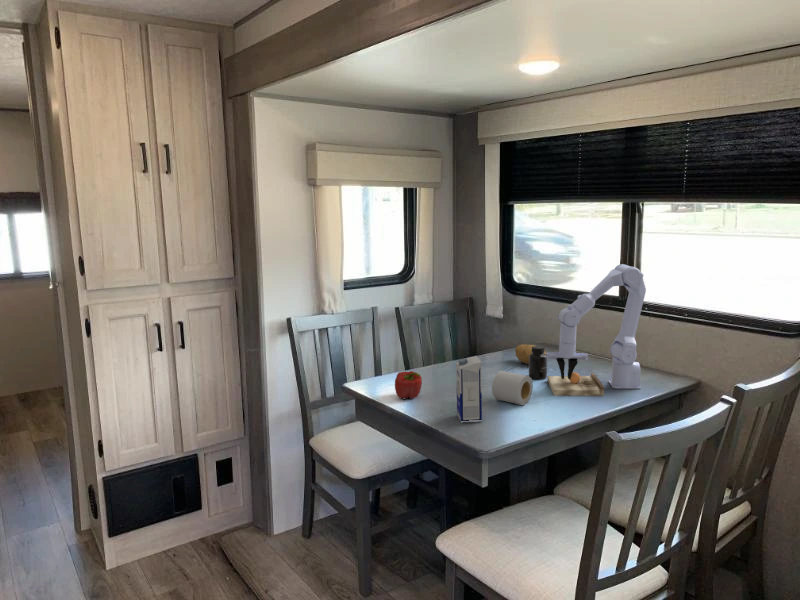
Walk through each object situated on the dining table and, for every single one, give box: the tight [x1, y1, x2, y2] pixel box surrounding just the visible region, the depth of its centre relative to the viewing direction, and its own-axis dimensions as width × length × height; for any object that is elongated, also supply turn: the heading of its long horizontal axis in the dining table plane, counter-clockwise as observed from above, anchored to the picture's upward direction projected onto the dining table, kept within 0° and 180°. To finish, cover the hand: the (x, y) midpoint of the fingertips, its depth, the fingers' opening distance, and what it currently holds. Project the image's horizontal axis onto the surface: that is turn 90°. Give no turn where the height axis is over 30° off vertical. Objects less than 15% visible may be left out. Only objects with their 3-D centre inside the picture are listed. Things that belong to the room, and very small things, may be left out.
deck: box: [547, 372, 605, 397], centre depth 214 cm, size 18×16×3 cm
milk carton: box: [455, 355, 483, 421], centre depth 187 cm, size 7×7×20 cm
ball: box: [569, 371, 581, 383], centre depth 214 cm, size 4×4×4 cm
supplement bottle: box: [528, 345, 548, 380], centre depth 227 cm, size 7×7×12 cm
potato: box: [514, 343, 547, 365], centre depth 245 cm, size 10×14×8 cm
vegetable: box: [394, 371, 423, 399], centre depth 210 cm, size 11×10×10 cm
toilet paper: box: [491, 370, 534, 406], centre depth 202 cm, size 10×10×10 cm
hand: (565, 378), depth 214 cm, fingers closed
